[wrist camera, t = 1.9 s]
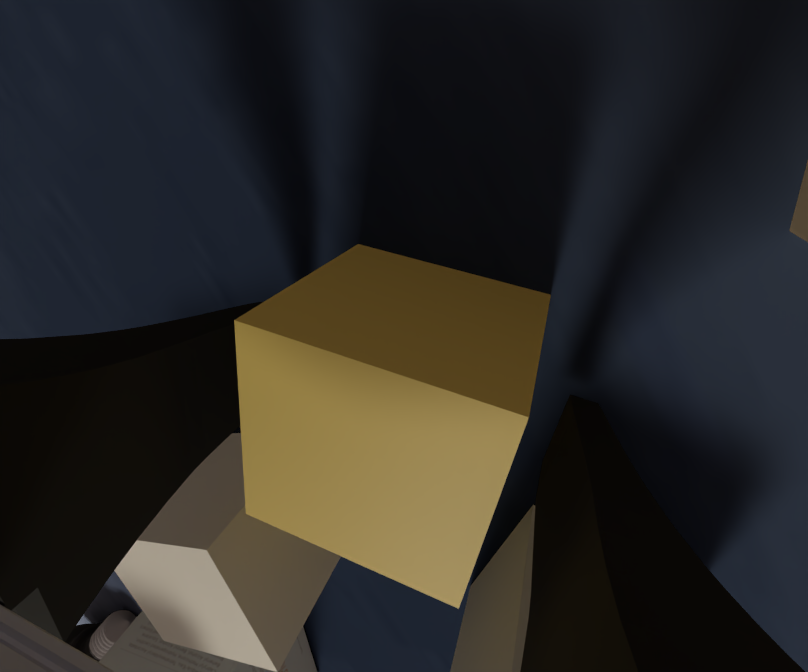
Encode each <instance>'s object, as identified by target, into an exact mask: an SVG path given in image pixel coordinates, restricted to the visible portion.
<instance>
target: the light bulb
mask: <svg viewBox="0 0 808 672" xmlns="http://www.w3.org/2000/svg"><path fill="white" fill-rule="evenodd" d="M135 619H136V616H135V615H134V614H133V613H131V612H130V611H126V610H120V611H116V612H113V613H112V614H110V615H109V616H108V617H107V618H106V619H105V620H104V622H103V623H102V624H83V625H77V626H75V627H74V629H73V631H72V632H71V634H70V635H69V637H68V638H67V640H66V641H65V643H67V644H69V645H70V646H72V647H74V648H75V649H77V650H79V651H81V652H82V653H84V654H86V655H87V656H89V657H91V658H92V659H94V660H96V661H98V662H99V661H100V660H101V659H102V657H103V656H104V655H105V654H106V653H107V652H108V650H109V649H110V648H111V647H112V646H113V645H114V644H115V642H116V641H117V640H118V639H119V638H120V636H121V635H122V634H123V633H124V632H125V631H126V629H127V628H128V627H129V626H130V625H131V623H132V622H133V621H134V620H135Z"/></svg>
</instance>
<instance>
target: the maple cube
mask: <svg viewBox="0 0 808 672" xmlns="http://www.w3.org/2000/svg"><path fill="white" fill-rule="evenodd" d="M789 231H790V232H792V233H794V234H795V235H797V236H799V237H800V238H802V239H803V240H805V241H807V242H808V161H807V165H806V169H805V173H804V177H803V181H802V184H801V188H800V192H799V196H798V200H797V204H796V207H795V211H794V215H793V219H792V223H791V227H790V230H789Z"/></svg>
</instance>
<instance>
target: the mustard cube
mask: <svg viewBox="0 0 808 672" xmlns="http://www.w3.org/2000/svg"><path fill="white" fill-rule="evenodd" d="M550 297H551V295H550V294H546V293H542V292H538V291H535V290H531V289H527V288H523V287H519V286H516V285H512V284H508V283H504V282H501V281H497V280H493V279H489V278H485V277H482V276H478V275H474V274H470V273H466V272H463V271H459V270H455V269H451V268H447V267H444V266H440V265H436V264H432V263H428V262H425V261H421V260H417V259H413V258H409V257H406V256H402V255H398V254H394V253H390V252H387V251H383V250H379V249H375V248H371V247H368V246H364V245H360V244H357V245H356V246H354V247H353V248H351V249H349V250H348V251H346V252H344V253H343V254H341V255H340V256H338V257H336V258H335V259H333V260H331V261H330V262H328V263H327V264H325V265H323V266H322V267H320V268H318V269H317V270H315V271H313V272H312V273H310V274H309V275H307V276H305V277H304V278H302V279H300V280H299V281H297V282H296V283H294V284H292V285H291V286H289V287H287V288H286V289H284V290H283V291H281V292H279V293H278V294H276V295H274V296H273V297H271V298H270V299H268V300H266V301H265V302H263V303H261V304H260V305H258V306H256V307H255V308H253V309H252V310H250V311H248V312H247V313H245V314H243V315H242V316H240V317H239V318H237V319H235V320H234V325H235V342H236V358H237V375H238V392H239V408H240V425H241V442H242V459H243V475H244V492H245V509H246V514H247V515H250V516H252V517H254V518H256V519H259V520H261V521H263V522H265V523H268V524H270V525H272V526H274V527H277V528H279V529H281V530H283V531H286V532H288V533H290V534H292V535H294V536H297V537H299V538H301V539H303V540H306V541H308V542H310V543H312V544H315V545H317V546H319V547H321V548H324V549H326V550H328V551H330V552H333V553H335V554H337V555H339V556H342V557H344V558H346V559H348V560H351V561H353V562H355V563H357V564H360V565H362V566H364V567H366V568H369V569H371V570H373V571H375V572H377V573H380V574H382V575H384V576H386V577H389V578H391V579H393V580H395V581H398V582H400V583H402V584H404V585H407V586H409V587H411V588H413V589H416V590H418V591H420V592H422V593H425V594H427V595H429V596H431V597H434V598H436V599H438V600H440V601H443V602H445V603H447V604H449V605H452V606H454V607H456V608H458V609H459V606H460V603H461V601H462V598H463V595H464V593H465V590H466V587H467V584H468V582H469V579H470V576H471V574H472V571H473V568H474V565H475V563H476V560H477V557H478V554H479V552H480V549H481V546H482V544H483V541H484V538H485V535H486V533H487V530H488V527H489V525H490V522H491V519H492V516H493V514H494V511H495V508H496V505H497V503H498V500H499V497H500V495H501V492H502V489H503V486H504V484H505V481H506V478H507V476H508V473H509V470H510V467H511V465H512V462H513V459H514V456H515V454H516V451H517V448H518V446H519V443H520V440H521V437H522V435H523V432H524V429H525V426H526V424H527V421H528V418H529V414H530V408H531V403H532V397H533V391H534V386H535V380H536V375H537V369H538V363H539V358H540V352H541V347H542V341H543V336H544V330H545V324H546V319H547V313H548V308H549V302H550Z"/></svg>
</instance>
